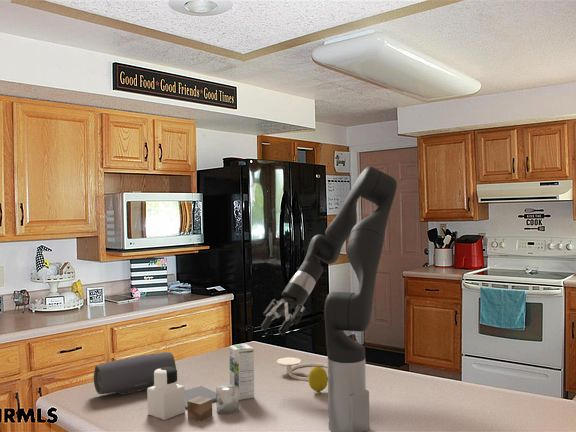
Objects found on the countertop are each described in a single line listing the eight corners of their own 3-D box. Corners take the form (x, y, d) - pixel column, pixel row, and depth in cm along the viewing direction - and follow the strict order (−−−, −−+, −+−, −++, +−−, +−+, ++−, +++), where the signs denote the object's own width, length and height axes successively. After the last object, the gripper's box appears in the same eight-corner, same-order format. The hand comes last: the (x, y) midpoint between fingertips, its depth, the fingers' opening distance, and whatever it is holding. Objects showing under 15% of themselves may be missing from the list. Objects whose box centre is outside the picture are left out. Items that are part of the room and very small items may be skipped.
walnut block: (212, 416, 144) (212, 399, 144) (200, 421, 140) (200, 404, 140) (199, 412, 146) (199, 396, 146) (187, 418, 143) (187, 401, 143)
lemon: (326, 396, 157) (326, 368, 156) (307, 395, 158) (306, 368, 157) (329, 390, 162) (328, 363, 162) (310, 389, 163) (310, 362, 163)
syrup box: (229, 395, 159) (228, 345, 159) (248, 391, 162) (247, 342, 162) (235, 401, 154) (234, 350, 154) (255, 397, 157) (254, 347, 156)
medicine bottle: (168, 406, 151) (167, 363, 151) (185, 412, 147) (184, 367, 146) (147, 414, 146) (146, 369, 145) (164, 420, 141) (163, 374, 141)
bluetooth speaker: (165, 378, 176) (164, 347, 176) (177, 385, 169) (176, 353, 168) (93, 394, 163) (92, 360, 162) (103, 402, 155) (102, 367, 155)
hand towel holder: (341, 368, 170) (275, 368, 171) (341, 382, 170) (275, 382, 171) (337, 353, 187) (277, 353, 187) (337, 366, 187) (277, 366, 188)
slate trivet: (223, 398, 156) (223, 395, 156) (186, 409, 149) (186, 406, 149) (201, 388, 165) (201, 385, 165) (165, 398, 158) (165, 395, 158)
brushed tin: (243, 410, 147) (242, 388, 147) (224, 416, 143) (224, 393, 143) (230, 404, 152) (230, 383, 152) (212, 410, 148) (211, 387, 148)
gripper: (321, 298, 169) (294, 342, 161) (290, 293, 179) (264, 334, 172) (307, 283, 165) (279, 327, 158) (277, 279, 176) (250, 320, 169)
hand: (271, 331), depth 165 cm, fingers open, 8 cm apart
